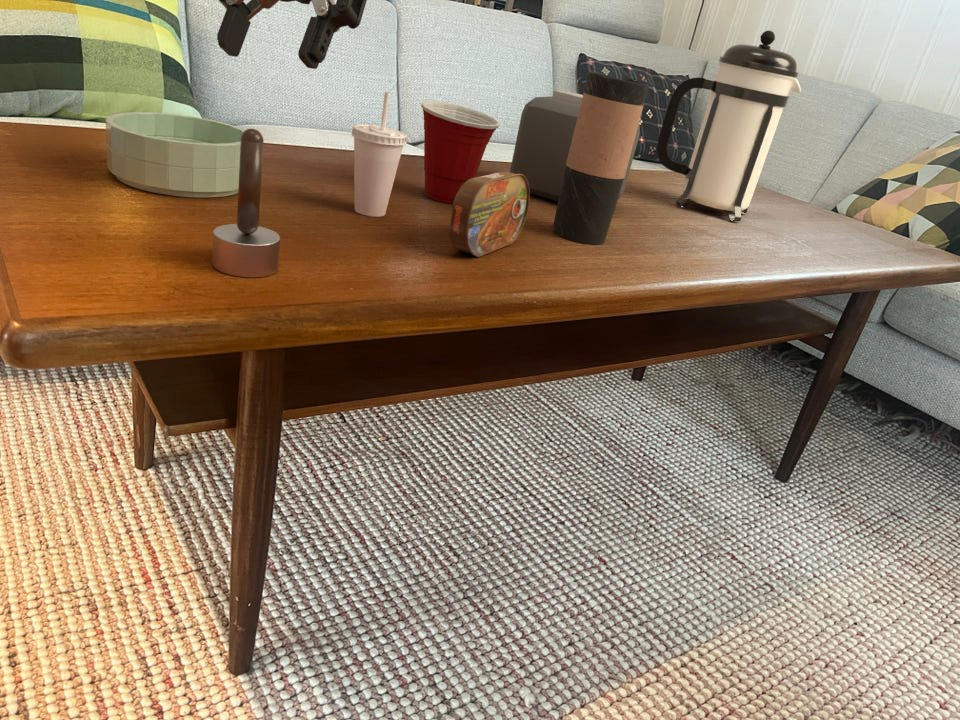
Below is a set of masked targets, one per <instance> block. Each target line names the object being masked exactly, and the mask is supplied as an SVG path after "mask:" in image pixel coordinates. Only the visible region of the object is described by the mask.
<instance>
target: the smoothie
mask: <svg viewBox="0 0 960 720" xmlns="http://www.w3.org/2000/svg"><path fill="white" fill-rule="evenodd" d="M390 97H391V92H389V91H384V97H383V105H382V111H381V112H382V113H381V121H380V125H374V124H363V123H359V124H358V123H357V124H354V125H352V131H351V133H350V134H351V136H352V137H353V163H354V164H353V166H354V167H353V170H354V171H353V174H354V175H353V177H354V179H353V180H354V182H353V183H354V184H353V185H354V190H353V191H354V212H356V213H357V214H359V215H362V216H366V217H373V218H374V217H375V218H377V217H378V218H381V217H384V216H386V213H387V210H388V205H389V202H390V198H391V194H392V190H393V186H394V182H395V179H396V176H397V171H398V168H399V164H400V160H401V157H402V152H403V149H404V146H406V145H407V140H408V135H407V133H405V132H403V131H401V130H398V129H394V128H391V127H386V126H387V118H388V111H389V103H390Z"/></svg>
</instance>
